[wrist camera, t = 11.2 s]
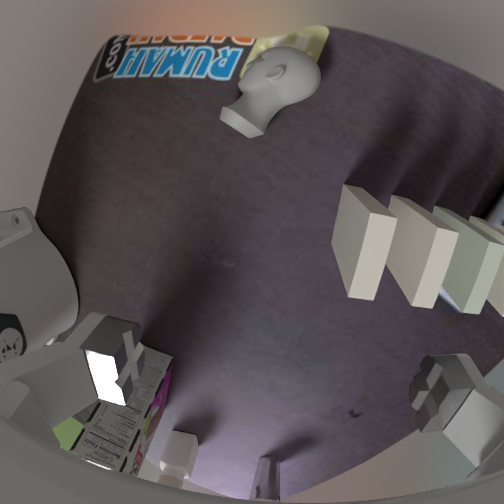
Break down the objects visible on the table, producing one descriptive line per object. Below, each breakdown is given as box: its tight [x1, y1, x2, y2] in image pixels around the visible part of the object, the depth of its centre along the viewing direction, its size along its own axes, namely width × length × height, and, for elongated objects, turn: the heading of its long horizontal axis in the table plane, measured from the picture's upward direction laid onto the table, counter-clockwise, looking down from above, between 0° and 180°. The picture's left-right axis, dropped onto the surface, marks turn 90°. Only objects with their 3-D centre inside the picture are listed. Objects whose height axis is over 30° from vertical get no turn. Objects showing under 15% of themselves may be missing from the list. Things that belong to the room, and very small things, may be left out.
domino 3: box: [432, 205, 504, 314], centre depth 20 cm, size 2×5×9 cm, turn 173°
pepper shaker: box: [158, 431, 199, 489], centre depth 34 cm, size 4×4×10 cm
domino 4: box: [469, 215, 504, 317], centre depth 19 cm, size 2×5×9 cm, turn 173°
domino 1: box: [331, 184, 398, 300], centre depth 20 cm, size 2×5×9 cm, turn 173°
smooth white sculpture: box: [220, 47, 321, 138], centre depth 20 cm, size 4×8×5 cm
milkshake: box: [248, 456, 281, 503], centre depth 34 cm, size 4×5×10 cm
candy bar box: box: [69, 344, 174, 477], centre depth 27 cm, size 11×5×16 cm, turn 163°
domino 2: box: [386, 195, 459, 308], centre depth 20 cm, size 2×5×9 cm, turn 173°
